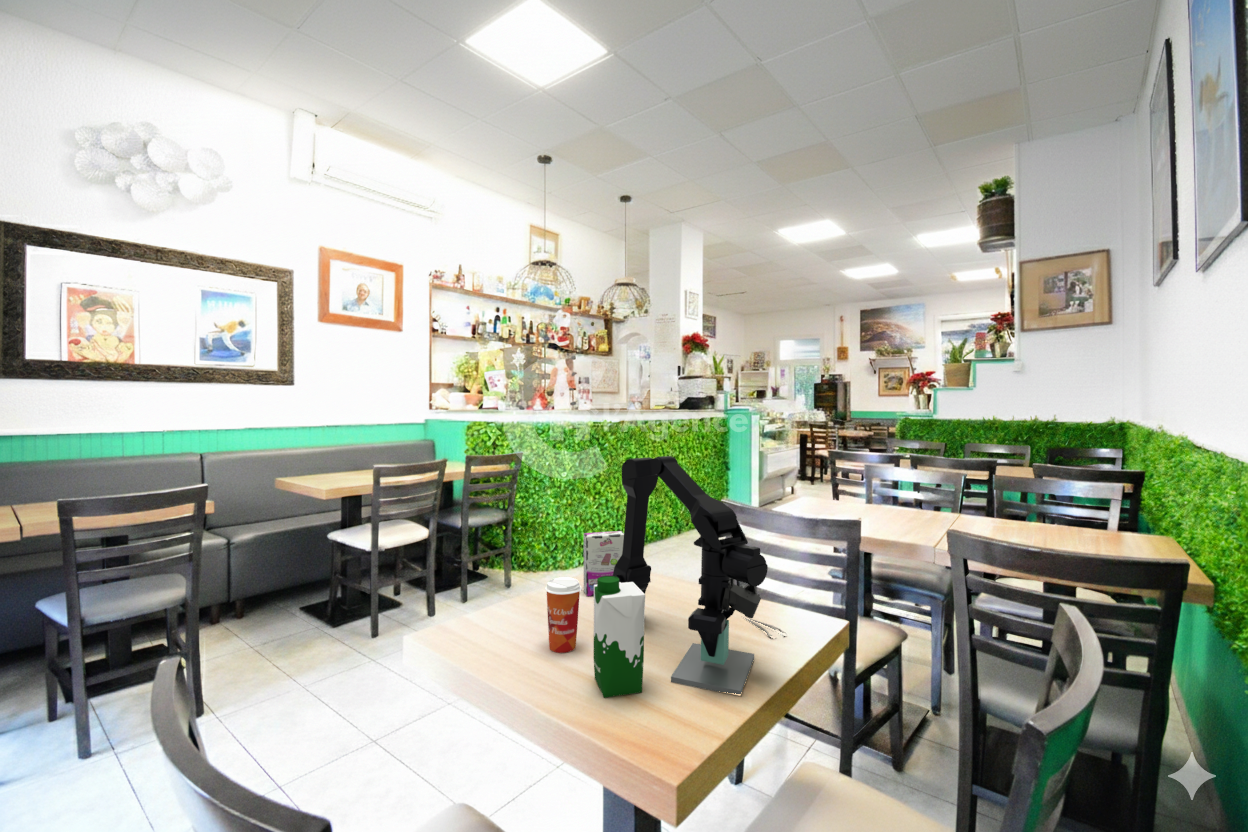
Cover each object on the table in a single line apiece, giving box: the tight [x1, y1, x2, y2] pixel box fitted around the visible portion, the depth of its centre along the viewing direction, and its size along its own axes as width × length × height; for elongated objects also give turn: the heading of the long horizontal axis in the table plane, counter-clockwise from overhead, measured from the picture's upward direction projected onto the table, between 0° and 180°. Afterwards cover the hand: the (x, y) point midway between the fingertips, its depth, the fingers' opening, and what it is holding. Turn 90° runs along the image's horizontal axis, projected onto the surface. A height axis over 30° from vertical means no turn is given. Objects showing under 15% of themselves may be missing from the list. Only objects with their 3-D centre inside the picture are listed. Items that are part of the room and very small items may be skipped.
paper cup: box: [544, 576, 582, 654], centre depth 117 cm, size 8×8×14 cm
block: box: [700, 619, 730, 665], centre depth 108 cm, size 4×4×7 cm
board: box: [670, 642, 755, 695], centre depth 108 cm, size 13×16×1 cm
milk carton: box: [593, 576, 646, 699], centre depth 101 cm, size 9×9×20 cm
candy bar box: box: [583, 530, 624, 597], centre depth 152 cm, size 11×5×16 cm, turn 105°
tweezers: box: [742, 616, 787, 638], centre depth 131 cm, size 18×5×2 cm, turn 25°
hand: (714, 651), depth 108 cm, fingers closed on block, 4 cm apart
